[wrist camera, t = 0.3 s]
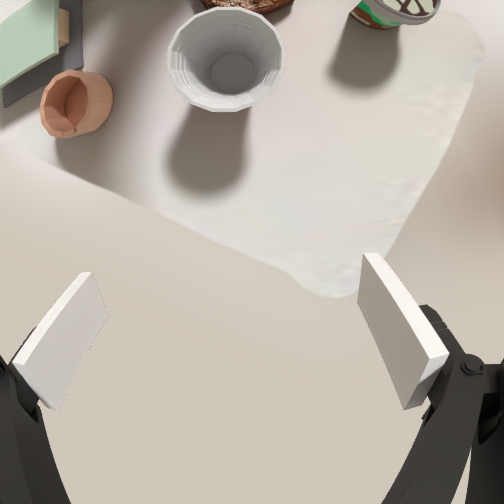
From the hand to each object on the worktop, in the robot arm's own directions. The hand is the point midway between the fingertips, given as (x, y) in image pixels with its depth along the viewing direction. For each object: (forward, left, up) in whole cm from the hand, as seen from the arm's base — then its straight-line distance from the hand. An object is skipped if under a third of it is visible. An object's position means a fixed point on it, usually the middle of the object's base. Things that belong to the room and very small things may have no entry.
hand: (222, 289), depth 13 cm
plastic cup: (-13, 0, -28) cm, 31 cm away
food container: (-22, +22, -28) cm, 42 cm away
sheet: (-28, -30, -22) cm, 47 cm away
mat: (-28, -30, -27) cm, 49 cm away
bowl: (-14, -21, -27) cm, 37 cm away
